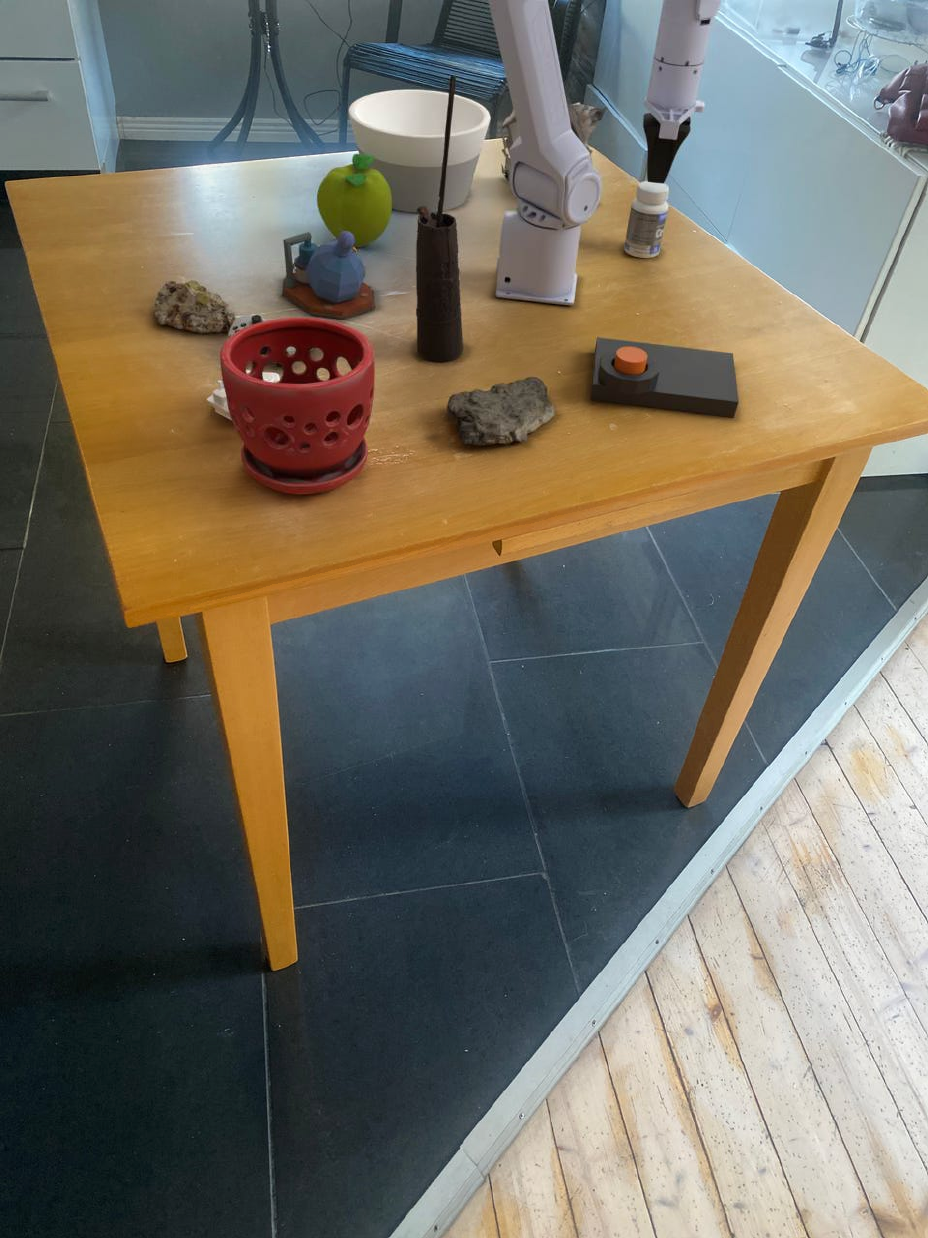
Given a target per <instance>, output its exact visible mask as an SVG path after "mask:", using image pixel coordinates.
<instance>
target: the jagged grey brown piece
mask: <svg viewBox="0 0 928 1238" xmlns="http://www.w3.org/2000/svg"><path fill="white" fill-rule="evenodd" d="M567 108H568V113H569V118H570V124H571V129H572V131H573V132H574V133H575V135H576V136H577V137H578V139H579V140H580V141H581V142H582V144H583V145H584V146H585V147H586V149H587V150H588V151H589V153H590V157H591V162H592V165H593V166H594V164H593V159H592V153H593V152H594V151H593V150H592V149H590V147H589V144H588V143H589V141H588V140H589V138H590V136H591V134H592V133H593V132H594V131H595V130H596V127H597V124H598V121H602V119H603V116H604V114H605V112H606V111H607V107H597V106H592V105H591V106H590V105H587V104H586V103H581V102H580V101H579V102H575V103H571V104H569V103H567ZM505 128H506V130H507V134H508V135H507V137H506V138H505V134H504V129H505ZM500 131H501V132H500V133H501V139H502V146H503V147H504V148H502V149H501V152H502V153H503V156H504V157H505V158H504V159H505V160H504V161H505V162H504V165H503V164H501V174H502V175H503V176H504V177H503V178H505V179H506V181H507V182H508V183H510V171H511V159H510V154H509V149H510V148H511V146H512V145H513V143H514V142H515V141H516V139H517V138H518V137H519V136H520V133H519V129H518V125H517V121H516V116H515V112H514V108H513V107H512V109H511V114H510V115H509V116H506V118H505V119H504V121H503V123H501V128H500ZM506 149H507V150H506ZM507 151H508V153H507Z"/></svg>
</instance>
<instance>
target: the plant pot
mask: <svg viewBox="0 0 928 1238" xmlns="http://www.w3.org/2000/svg"><path fill="white" fill-rule="evenodd" d="M265 346H267V347H268V352H267V353H266V354H265V355H262V354H260V350H261V349H262V348H263V347H265ZM288 347H294V348H295V349H296V352H295V353H294V354H292V355H288V354H287V353H286V349H287V348H288ZM313 348H315V349H318V350H320V351H321V352H322V358H321V359H315V358H314V357H312V355H311V351H310V350H311V349H313ZM339 358H342V359H344V360H345V361H346V363H347V364H348V366H349V367H350V369H351V371H348V372H347V373H345V374H343V375H342V374H341V373H340V371H339V370H338V366H337V363H338V359H339ZM219 361H220V362H219V363H220V373H221V376H222V378H221V381H222V380H223V384H224V389H225V393H226V398H227V404H228V410H229V413H230V416H231V419H232V420H231V422H232V424H233V427H234V429H235V431H236V433H237V435H238V437H239V439H240V440H241V442H242V446H241V450H240V458H241V462H242V464H243V466H244V468H245V470H246V471H247V473H248V474H249V475H250V476H251V477H252V478H253V479H255V480H256V481H257V482H259V483H260V484H262V485H264V486H266V487H267V488H269V489H272V490H274V491H277V492H281V493H285V494H292V495H311V494H320V493H324V492H329V491H331V490H335V489H337V488H340V487H342V486H344V485H345V484H347V483H348V482H350V481H352V480H353V479H354V478H355V477H356V476H357V475H358V474H360V472H362V470H363V469H364V467H365V465H366V462H367V459H368V454H369V447H368V446H369V445H368V443H367V440H366V438H365V435H366V432H367V430H368V427H369V424H370V420H371V418H372V417H371V416H372V411H373V404H374V399H375V378H376V377H375V375H376V374H375V373H376V371H375V370H376V368H375V367H376V366H375V352H374V347H373V346H372V343H371V342H370V341H369V339H368V337H366V336H365V335H364V334H363V333H362V332H360V331H358V330H357V329H355V328H353V327H351V326H349V325H346V324H344V323H341V322H339V321H335V320H329V319H325V318H317V317H302V316H301V317H299V316H298V317H297V316H296V317H295V316H292V317H291V316H290V317H281V318H275V319H269V320H268V321H263V322H260V323H256V324H253V325H250V326H248V327H246V328H244V329H242V330H240V331H238V332H236V333H235V334H233V335H232V336H231V337H230V338H229V339H228V338H227V340H226V341H225V342H224V343H223V345H222V347H221V349H220V353H219ZM249 362H251V364H252V365H251V369H250V371H251V372H250V373H249V374H247V373H246V370H247V366H248V363H249ZM297 362H300V363H303V364H304V365H305V370H304V371H302V372H297V371H295V370H294V369H293V365H294V364H295V363H297ZM276 363H278V364H280V365H281V367H280V368H281V369H282V376H281V377H280V380H279V381H278V382H276V383H273V382H268V381H264V380H263V372H264V369H266V367H267V366H268V365H271V364H276ZM319 369H324V370H326V371H327V372H328V374H329V376H328V379H326V380H323V379H321V378H320V377H319V376H318V370H319Z"/></svg>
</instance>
